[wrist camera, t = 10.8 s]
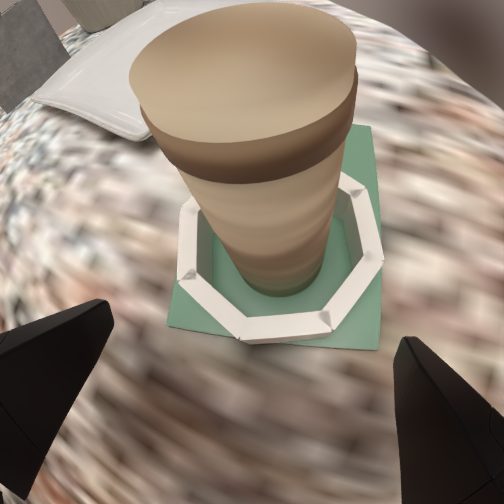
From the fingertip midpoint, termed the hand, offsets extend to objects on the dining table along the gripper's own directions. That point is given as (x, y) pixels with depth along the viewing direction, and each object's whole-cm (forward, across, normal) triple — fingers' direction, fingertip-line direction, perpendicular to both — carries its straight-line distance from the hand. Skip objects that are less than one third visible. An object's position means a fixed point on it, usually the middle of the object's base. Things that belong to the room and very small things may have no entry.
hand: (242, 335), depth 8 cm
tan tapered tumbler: (+9, 0, +2) cm, 9 cm away
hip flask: (+29, +43, -17) cm, 55 cm away
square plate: (+28, +17, -16) cm, 36 cm away
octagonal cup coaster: (+12, 0, 0) cm, 12 cm away
